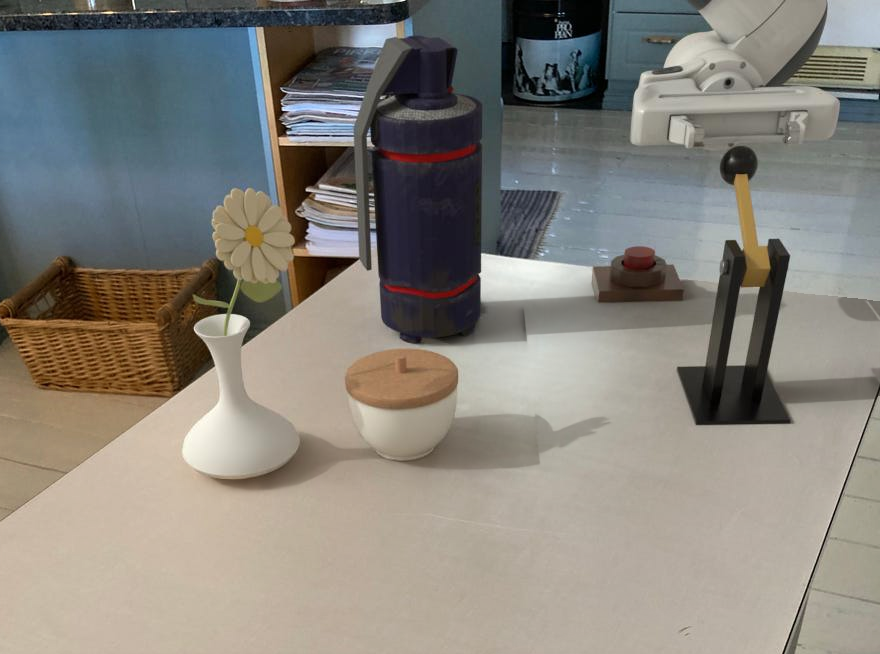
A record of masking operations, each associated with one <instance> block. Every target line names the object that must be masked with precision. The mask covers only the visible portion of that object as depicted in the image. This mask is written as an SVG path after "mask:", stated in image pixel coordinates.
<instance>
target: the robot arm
mask: <svg viewBox="0 0 880 654" xmlns="http://www.w3.org/2000/svg"><path fill="white" fill-rule="evenodd" d="M685 1H686V3H688V4H689V5H690V6H691V7H692V8H693V9H694V10H695V11H696V12H697V11H698V13H699V15H701V16H702V17H703V19H704V21H706V23H707V24H708V25H709V26H710V27H711V29H712V30H710V31H709V30H708V31H699V32H694V33H691V34H688V35H686V36H685V37H683V38H681V39H680V40H679V41H677V42H676V44H674V46H673V47H672V48H671V50H670V51H669V53H668V54H667V56H666V59H665V61H664V64H663V67H662V68H657V69H653V70H646V71H644V72H642V73H641V74H640V77H639V81H638V86H637V88H636V89H635V91H634V93H633V100H632V108H631V109H632V110H631V119H630V121H631V122H630V132H629V141H630V144H632V145H633V146H637V147H652V146H656V147H657V146H680V145H681V146H682V145H683V146H684V147H685V148H686V149H687V150H689V149H690V150H691V149H702V150H707V151H722V150H726V149H729V148H732V147H735V145H738V144H743V143H745V144H746V143H747V144H748V143H774V142H783V144H785V146H801V145H803V143H804V141H825V140H828V139H830V138H831V137H832V136H834V135H835V131H836V129H837V124H838V121H839V120H838V119H839V115H840V108H841V103H840V100H839V99H838V98H837V97H836V96H834V95H833V94H831V93H829V92H828V91H826V90H824V89H821V88H819V87H816V86H815V87H814V86H807V85H806V86H805V85H788V86H783V85H784V84H785V83H787V82H788V81H789V80H790V79H792V78H793V77H794V76H795V75H796V74H797V73H798V72H799V71H800V70H801V69H802V68H803V67H804V66H805V64H806V63H807V62H808V61H809V60H810V59H811V57H812V56H813V54H814V53H815V52H816V50H817V48H818V46H819V44H820V41H821V39H822V35H823V32H824V29H825V26H826V22H827V18H828V10H829V7H828V0H685Z"/></svg>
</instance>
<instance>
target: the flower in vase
mask: <svg viewBox="0 0 880 654" xmlns="http://www.w3.org/2000/svg"><path fill="white" fill-rule="evenodd" d="M211 226H212V228H213V230H215V231H213V233H212V236H211V237H212V240H213V242H214V247H215V249H216V251H215V256H216V257H217V259H218V260H219V261H221V262H222V261H223V262H224V263H223V264H224V267H225V268H226V269H227V270H228V271H233V272H232V273H233V276H234V278H235V279H236V280H237V281H236V286H235V289H234V291H233V294H232V297H231V299H230V303H228V302H225V301H220V300H209V299H206V298H205V299H204V298H202V297H199V296H198V295H196V294H194V293H192V297H193V300H194V301H195V303H197V304H199V305H205V306H212V307H219V308H224V309H226V308H228V309H227V311H226V313H219V314H214V315H210V316H207V317H205V318H202V319H200V320H199V321H197V322H196V323H195V324H194V326H193V331H194V332H195V334H196V335H197V336H198V337H199V338H200V339H201V340H202V341H203V342H204V343H205V345H206V347H207V348H208V350H209V352H210V355H211V357H212V360H213V363H214V366H215V370H216V374H217V378H218V379H217V380H218V386H219V399H218V402H216V405H215V406H214V407H213V408H212V409H211V410H210V411H208V412H207V413H206V414H205V415H204V416H202V417H201V418H200V419H199V420H198V421H197V422H196V423H195V424H194V425H193V426H192V427H191V429H190V430H189V431H188V433H187V434H186V436H185V438H184V440H183V445H182V450H181V453H182V456H183V460H184V461H185V462H186V464H188V465H189V467H191V468H192V469H193V470H194V471H195V472H198V473H199V474H201V475H204V476H206V477H211V478H214V479H221V480H243V479H249V478H255V477H259V476H263V475H266V474H268V473H271V472H274V471H276V470H277V469H280V468H281V467H283V466H285V465H286V464H288V462H289V461H291V460H292V458H293V457H294V456H295V455H296V452H297V451H298V449H299V446H300V442H301V437H300V435H299V432H298V431H297V429H296V427H295V426H294V424H293V423H292V422H291V421H290V420H288V419H287V418H286V417H285V416H283V415H282V414H280V413H279V412H277V411H275V410H273V409H271V408H269V407H267V406H265V405H262V404H261V403H260V404H259V403H258V402H256V401H254V400H253V399H251V397H250V396H249V395H248V393H247V391H246V387H245V383H244V379H243V369H242V346H243V342H244V338H245V336H246V334H247V332H248V331H249V328H250V326H251V321H250V319H248V318H247V317H246V316H243V315H241V314H235V313H232V312H233V308H234V305H235V303H236V300H237V297H238V294H239V292H240V290H241V292H242V293H243V294H244V295H245V297H246V296H247V297H248V299H250V300H252V301H254V302H256V303H265V302H266V301H269V300H270V299H272V298H273V297H275V296H276V295H277V294H278V293H280V291H281V290H282V289H283V285H282V283H280V281H278V280H277V279H278V278H279V277H280V271H281V272H286V271H287V270H288V269H289V263H290V262H292V261H294V258H295V255H294V253H293V251H292V246H293V245H295V243H296V241H295V240H296V239H295V236H293V235H292V234H291V231H292V225H291V223H290V222H289V221H288V218H287V216H286V215H284V214H283V209H282V208H281V207H280V206H279V205H276V204H272V200H271V197H270V196H269V195H267V194H266V193H265V192H264V191H262V190H259V191H257V192H256V190H255V189H254V188H251V187H248V188H247V189H246V190H245V192H244V191H243V190H242V189H238V188H237V187H234V188H232V189H231V191H230V193H229V194H226V195H225V197H224V198H223V205H217V206H216V207H215V209H214V210H213V211H212V219H211ZM242 280H243V281H242Z"/></svg>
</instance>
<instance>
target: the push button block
mask: <svg viewBox="0 0 880 654" xmlns="http://www.w3.org/2000/svg"><path fill="white" fill-rule="evenodd" d="M623 264H624V254H621V255H617V256H615V257H614V258H613V259H612V260H611V261H610V265H600V266H599V265H598V266H597V265H596V266H595V265H594V266H592V274H591V275H592V276H591V287H592V291H593V295H594V299H595V301H597V303H598V304H601V303H603V304H604V303H644V302H645V303H646V302H648V303H650V302H682V301H683V298H684V291H685V289H684V286H683V284H682V282H681V279H680V277H679V275H678V272H677V270H676V267H675V264H671V263H670V264H667V262H666V260H665V259H664V258H662V257H660V256H658V255H656V254H655V258H654V267H653V268H649V269H640V270H636V269H630V268H627V267H625V266H623Z"/></svg>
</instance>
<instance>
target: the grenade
mask: <svg viewBox="0 0 880 654" xmlns="http://www.w3.org/2000/svg"><path fill="white" fill-rule="evenodd" d="M382 45H383V46H382V48H381V51H380V53H379V56H378V57H377V59H376V60H375V62H374V65H373V71H372V74H371V76H370V79H369V81H368V84H367V87H366V89H365V93H364V96H363V99H362V101H361V104H360V108H359V110H358V113H357V116H356V119H355V123H354V124H353V148H354V173H355V192H356V194H355V195H356V215H357V217H356V218H357V236H358V237H357V238H358V240H357V241H358V258H359V261H360V263H361V265H362V266H363V267H364V269H365V270H366V271H372V269H373V268H372V264H373V263H372V240H371V212H370V211H371V210H370V187H369V185H370V184H369V162H368V161H369V158H368V134H369V135H370V143H371V144H372V146H373V147H372V148H371V151H370V153H371V169H372V185H373V187H372V188H373V203H374V205H373V206H374V223H375V238H376V253H377V255H376V257H377V273H378V275H377V276H378V278H379V282H378V283H379V300H380V303H379V304H380V317H381V321H382V323H383V324H384V325H385V326H386V327H388V329H391V330H392V331H395V332H397V333H399V339H400V340H401V341H403V342H406V343H408V344H409V343H410V344H414V345H417V344H419V343H422V341H423V338H440V337H441V338H442V337H447V336H453V335H456V334H459V333H461V336H464V337H465V336H466V337H467V336H469V335H470V334H472V332H473V331H474V330H475V328H476V323H478V322H479V320H480V318H481V308H482V307H481V305H482V302H481V301H482V300H481V299H482V297H481V292H482V278H481V275H480V274H481V273H482V222H483V221H482V217H483V216H482V214H483V213H482V212H483V211H482V209H483V208H482V207H483V205H482V204H483V197H482V196H483V145H482V143H481V142H480V141H481V140H482V139H483V103H482V102H481V101H480V100H479V99H477V98H476V97H473V96H470V95H466V94H461V93H455V92H454V90H455V89H454V86H452V85H453V79H454V74H455V73H454V72H455V67H456V62H457V56H458V52H459V51H458V50H459V49H458V48H457V47H456V46H454V45H452V44H451V43H449V42H448V41H446V40H444V39H442V38H440V37H439V36H438V37H437V36H436V37H427V36H424V35H418V34H417V35H409V36H406V37H401V38H399V37H397V36H393V37H389V38H386V39H385V40H384V43H383V44H382ZM382 96H383V97H384V96H388V97H386V98H383V99H381V97H382ZM389 96H390V97H389Z"/></svg>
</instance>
